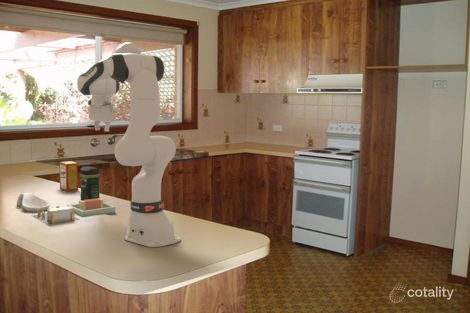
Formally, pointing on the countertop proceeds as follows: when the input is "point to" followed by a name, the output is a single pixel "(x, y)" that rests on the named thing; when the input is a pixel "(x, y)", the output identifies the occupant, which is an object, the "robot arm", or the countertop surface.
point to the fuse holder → (56, 215)
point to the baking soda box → (68, 175)
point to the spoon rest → (32, 202)
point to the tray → (106, 209)
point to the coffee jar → (89, 183)
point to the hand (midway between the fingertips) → (102, 130)
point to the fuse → (91, 204)
